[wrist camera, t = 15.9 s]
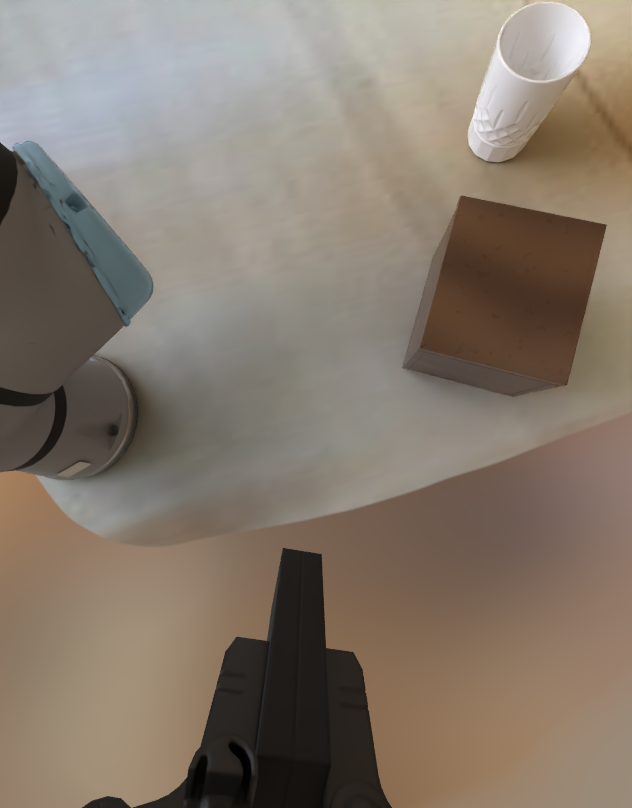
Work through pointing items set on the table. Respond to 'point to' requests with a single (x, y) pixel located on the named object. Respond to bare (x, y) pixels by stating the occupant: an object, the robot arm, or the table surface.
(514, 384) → the tea box
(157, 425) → the table surface
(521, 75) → the white cup
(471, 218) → the lid
